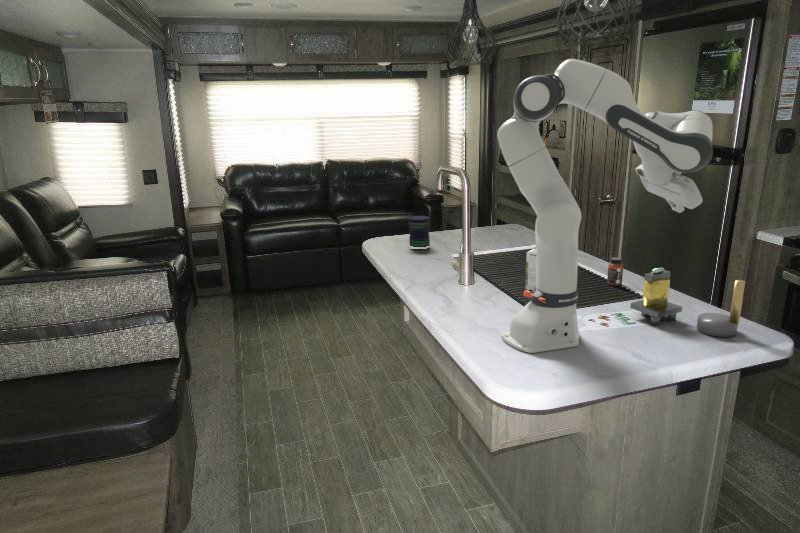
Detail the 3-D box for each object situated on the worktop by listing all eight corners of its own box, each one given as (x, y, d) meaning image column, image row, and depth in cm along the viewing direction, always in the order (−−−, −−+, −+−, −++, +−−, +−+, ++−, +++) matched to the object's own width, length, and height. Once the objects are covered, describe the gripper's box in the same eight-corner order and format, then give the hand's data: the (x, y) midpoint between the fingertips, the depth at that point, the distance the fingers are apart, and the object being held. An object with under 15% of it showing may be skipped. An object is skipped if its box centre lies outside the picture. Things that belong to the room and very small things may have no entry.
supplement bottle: (622, 286, 195) (624, 260, 193) (607, 285, 197) (608, 259, 195) (621, 282, 200) (623, 257, 197) (607, 281, 202) (608, 256, 199)
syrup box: (531, 286, 200) (533, 247, 196) (546, 288, 196) (548, 250, 192) (524, 290, 196) (525, 251, 192) (539, 293, 192) (541, 253, 188)
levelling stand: (657, 327, 159) (662, 275, 154) (629, 316, 167) (633, 267, 163) (680, 321, 163) (686, 270, 158) (652, 311, 172) (657, 262, 167)
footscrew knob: (743, 337, 149) (750, 284, 145) (703, 336, 151) (710, 284, 147) (728, 323, 159) (735, 273, 155) (691, 322, 160) (697, 273, 156)
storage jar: (410, 245, 268) (409, 215, 264) (430, 245, 266) (430, 215, 262) (408, 250, 258) (407, 219, 254) (428, 250, 257) (428, 219, 253)
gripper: (700, 171, 135) (715, 215, 141) (650, 155, 154) (665, 194, 159) (678, 185, 135) (694, 228, 141) (631, 167, 154) (647, 206, 160)
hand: (678, 210), depth 150 cm, fingers closed
